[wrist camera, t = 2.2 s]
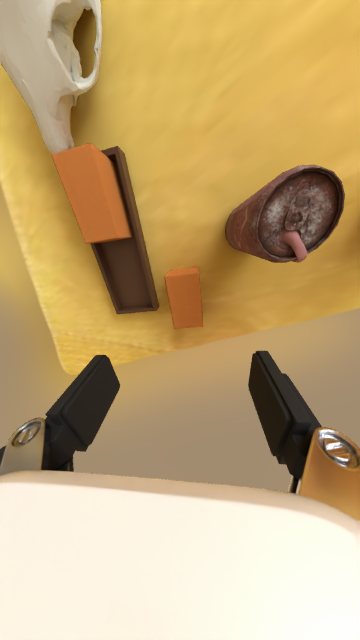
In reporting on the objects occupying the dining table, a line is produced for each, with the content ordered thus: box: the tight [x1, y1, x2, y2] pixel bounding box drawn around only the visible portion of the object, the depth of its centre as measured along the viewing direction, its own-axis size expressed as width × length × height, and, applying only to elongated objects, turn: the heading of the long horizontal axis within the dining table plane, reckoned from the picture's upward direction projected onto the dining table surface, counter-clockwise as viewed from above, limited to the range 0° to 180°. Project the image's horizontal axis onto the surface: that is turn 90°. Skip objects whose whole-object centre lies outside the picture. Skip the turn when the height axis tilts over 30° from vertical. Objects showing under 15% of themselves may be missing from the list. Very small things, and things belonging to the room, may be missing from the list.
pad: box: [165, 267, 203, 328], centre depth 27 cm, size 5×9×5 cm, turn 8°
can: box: [225, 165, 345, 263], centre depth 17 cm, size 6×6×14 cm
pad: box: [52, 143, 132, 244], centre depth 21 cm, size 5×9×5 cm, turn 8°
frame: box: [91, 146, 159, 314], centre depth 25 cm, size 8×22×2 cm, turn 8°
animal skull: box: [0, 0, 102, 154], centre depth 15 cm, size 10×16×10 cm, turn 154°
